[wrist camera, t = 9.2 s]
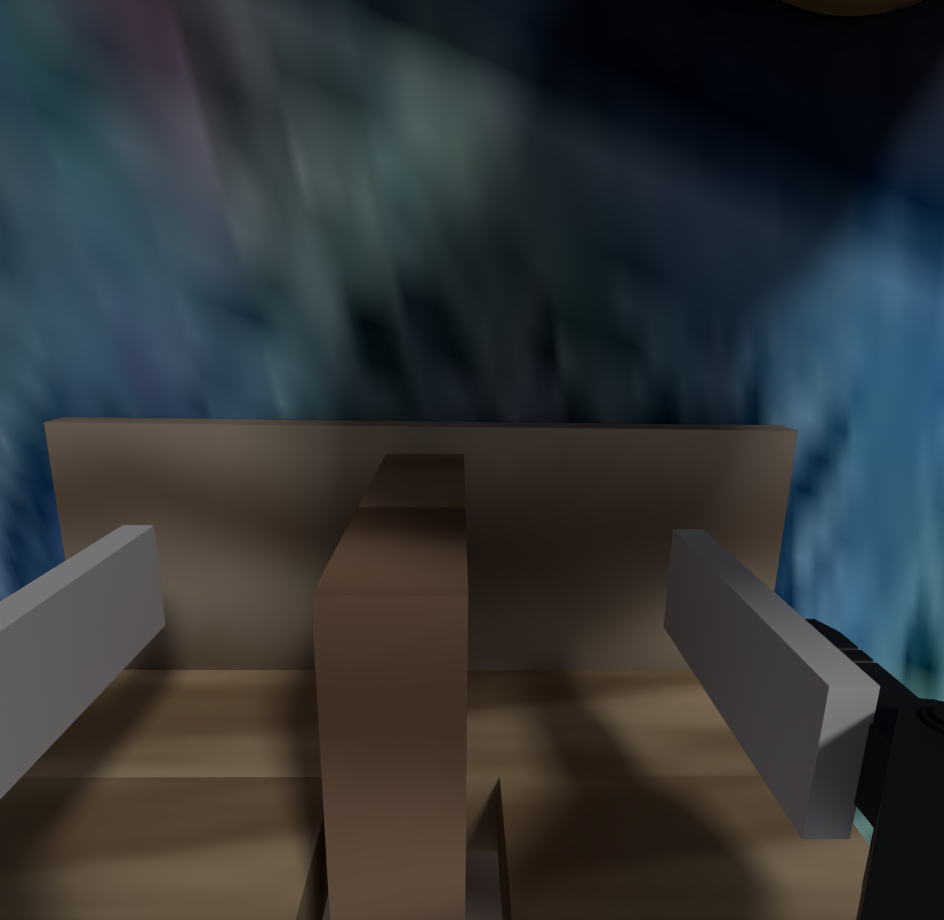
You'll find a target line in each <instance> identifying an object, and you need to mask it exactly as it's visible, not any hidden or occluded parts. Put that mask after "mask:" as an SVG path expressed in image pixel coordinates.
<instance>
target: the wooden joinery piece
mask: <svg viewBox="0 0 944 920" xmlns="http://www.w3.org/2000/svg"><path fill="white" fill-rule="evenodd" d="M44 426H45V432H46V439H47V445H48V451H49V458H50V464H51V471H52V477H53V483H54V490H55V496H56V503H57V509H58V515H59V522H60V528H61V534H62V541H63V547H64V554H65V560H68V559H69V558H71V557H73V556H74V555H76V554H77V553H79V552H81V551H82V550H84V549H85V548H87V547H89V546H90V545H92V544H93V543H95V542H97V541H98V540H100V539H101V538H103V537H105V536H106V535H108V534H109V533H111V532H113V531H114V530H116V529H117V528H119V527H121V526H122V525H154V531H155V540H156V548H157V557H158V565H159V574H160V582H161V591H162V599H163V608H164V616H165V626H164V627H163V628H162V629H161V630H160V631H159V632H158V633H157V634H156V636H155V637H154V638H153V639H152V640H151V641H150V642H149V643H148V644H147V645H146V646H145V647H144V648H143V649H142V650H141V651H140V652H139V653H138V655H137V656H136V657H135V658H134V659H133V660H132V661H131V662H130V663H129V664H128V665H127V666H126V667H125V668H124V669H123V670H122V671H121V672H120V674H119V675H118V676H117V677H116V678H115V679H114V680H113V681H112V682H111V683H110V684H109V685H108V686H107V687H106V688H105V689H104V690H103V691H102V693H101V694H100V695H99V696H98V697H97V698H96V699H95V700H94V701H93V702H92V703H91V704H90V705H89V706H88V707H87V708H86V709H85V710H84V712H83V713H82V714H81V715H80V716H79V717H78V718H77V719H76V720H75V721H74V722H73V723H72V724H71V725H70V726H69V727H68V728H67V729H66V731H65V732H64V733H63V734H62V735H61V736H60V737H59V738H58V739H57V740H56V741H55V742H54V743H53V744H52V745H51V746H50V747H49V748H48V749H47V751H46V752H45V753H44V754H43V755H42V756H41V757H40V758H39V759H38V760H37V761H36V762H35V763H34V764H33V765H32V766H31V767H30V768H29V770H28V771H27V772H26V773H25V774H24V775H23V776H22V777H21V778H20V779H19V780H18V781H17V782H16V783H15V784H14V785H13V786H12V787H11V789H10V790H9V791H8V792H7V793H6V794H5V795H4V796H3V797H2V798H1V799H0V920H330V911H329V894H328V877H327V859H326V842H325V825H324V808H323V791H322V774H321V757H320V739H319V722H318V705H317V688H316V671H315V654H314V637H313V619H312V602H311V595H312V593H313V591H314V589H315V587H316V585H317V583H318V582H319V580H320V578H321V576H322V574H323V572H324V570H325V568H326V566H327V565H328V563H329V561H330V559H331V557H332V555H333V553H334V551H335V549H336V548H337V546H338V544H339V542H340V540H341V538H342V536H343V534H344V532H345V531H346V529H347V527H348V525H349V523H350V521H351V519H352V517H353V515H354V514H355V512H356V510H357V508H358V506H359V504H360V502H361V500H362V498H363V497H364V495H365V493H366V491H367V489H368V487H369V485H370V483H371V481H372V480H373V478H374V476H375V474H376V472H377V470H378V468H379V466H380V464H381V462H382V461H383V459H384V457H385V455H386V453H391V454H464V473H465V506H466V539H467V573H468V668H467V773H466V878H465V920H856V917H857V912H858V906H859V901H860V896H861V891H862V882H863V877H864V872H865V868H866V863H867V858H868V853H869V849H870V845H869V844H868V843H867V841H866V840H865V839H864V837H863V836H862V835H861V834H860V832H859V831H858V830H857V828H856V827H855V826H854V825H852V830H851V835H850V839H801V837H800V835H799V834H798V832H797V831H796V829H795V828H794V826H793V825H792V823H791V822H790V820H789V819H788V817H787V816H786V814H785V812H784V811H783V809H782V808H781V806H780V805H779V803H778V802H777V800H776V799H775V797H774V796H773V794H772V793H771V791H770V789H769V788H768V786H767V785H766V783H765V782H764V780H763V779H762V777H761V776H760V774H759V773H758V771H757V770H756V768H755V766H754V765H753V763H752V762H751V760H750V759H749V757H748V756H747V754H746V753H745V751H744V750H743V748H742V747H741V745H740V743H739V742H738V740H737V739H736V737H735V736H734V734H733V733H732V731H731V730H730V728H729V727H728V725H727V724H726V722H725V720H724V719H723V717H722V716H721V714H720V713H719V711H718V710H717V708H716V707H715V705H714V704H713V702H712V701H711V699H710V697H709V696H708V694H707V693H706V691H705V690H704V688H703V687H702V685H701V684H700V682H699V681H698V679H697V678H696V676H695V674H694V673H693V671H692V670H691V668H690V667H689V665H688V664H687V662H686V661H685V659H684V658H683V656H682V655H681V653H680V652H679V650H678V648H677V647H676V645H675V644H674V642H673V641H672V639H671V638H670V636H669V635H668V633H667V632H666V630H665V629H664V627H663V625H664V615H665V605H666V595H667V585H668V575H669V566H670V556H671V546H672V536H673V529H703V530H704V531H705V532H706V533H708V534H709V535H710V536H711V537H712V538H713V539H714V540H715V541H717V542H718V543H719V544H720V545H721V546H722V547H723V548H724V549H726V550H727V551H728V552H729V553H730V554H731V555H732V556H734V557H735V558H736V559H737V560H738V561H739V562H740V563H741V564H743V565H744V566H745V567H746V568H747V569H748V570H749V571H751V572H752V573H753V574H754V575H755V576H756V577H757V578H758V579H760V580H761V581H762V582H763V583H764V584H765V585H766V586H768V587H769V588H770V589H771V590H772V591H773V592H774V590H775V583H776V576H777V569H778V562H779V555H780V549H781V542H782V535H783V528H784V521H785V515H786V508H787V501H788V494H789V487H790V481H791V474H792V467H793V460H794V453H795V446H796V440H797V433H798V431H797V430H794V429H791V428H788V427H785V426H782V425H712V424H624V423H537V422H449V421H362V420H274V419H186V418H99V417H63V418H59V419H55V420H51V421H47V422H44Z"/></svg>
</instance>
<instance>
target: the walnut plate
mask: <svg viewBox="0 0 944 920" xmlns="http://www.w3.org/2000/svg"><path fill="white" fill-rule="evenodd" d="M311 602H312V619H313V637H314V654H315V671H316V688H317V705H318V722H319V739H320V757H321V774H322V791H323V808H324V825H325V842H326V859H327V877H328V894H329V911H330V920H465V878H466V773H467V668H468V573H467V539H466V506H465V473H464V454H391V453H386V455H385V457H384V459H383V461H382V462H381V464H380V466H379V468H378V470H377V472H376V474H375V476H374V478H373V480H372V481H371V483H370V485H369V487H368V489H367V491H366V493H365V495H364V497H363V498H362V500H361V502H360V504H359V506H358V508H357V510H356V512H355V514H354V515H353V517H352V519H351V521H350V523H349V525H348V527H347V529H346V531H345V532H344V534H343V536H342V538H341V540H340V542H339V544H338V546H337V548H336V549H335V551H334V553H333V555H332V557H331V559H330V561H329V563H328V565H327V566H326V568H325V570H324V572H323V574H322V576H321V578H320V580H319V582H318V583H317V585H316V587H315V589H314V591H313V593H312V595H311Z"/></svg>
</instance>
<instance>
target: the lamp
mask: <svg viewBox="0 0 944 920" xmlns="http://www.w3.org/2000/svg"><path fill="white" fill-rule="evenodd" d="M780 1H782V2H784V3H786V4H789V5H791V6H794V7H796V8H799V9H802V10H806V11H810V12H814V13H818V14H824V15H832V16H865V15H875V14H881V13H886V12H890V11H895V10H899V9H902V8H905V7H908V6H911V5H914V4H917V3H919V2H921V1H924V0H780Z"/></svg>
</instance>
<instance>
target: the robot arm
mask: <svg viewBox="0 0 944 920" xmlns="http://www.w3.org/2000/svg"><path fill="white" fill-rule="evenodd" d="M164 626H165V616H164V608H163V599H162V591H161V582H160V574H159V565H158V557H157V548H156V540H155V531H154V525H122V526H121V527H119V528H117V529H116V530H114V531H113V532H111V533H109V534H108V535H106V536H105V537H103V538H101V539H100V540H98V541H97V542H95V543H93V544H92V545H90V546H89V547H87V548H85V549H84V550H82V551H81V552H79V553H77V554H76V555H74V556H73V557H71V558H69V559H68V560H66V561H65V562H63V563H61V564H60V565H58V566H57V567H55V568H53V569H52V570H50V571H49V572H47V573H45V574H44V575H42V576H41V577H39V578H37V579H36V580H34V581H33V582H31V583H29V584H28V585H26V586H25V587H23V588H21V589H20V590H18V591H17V592H15V593H13V594H12V595H10V596H9V597H7V598H5V599H4V600H2V601H1V602H0V799H1V798H2V797H3V796H4V795H5V794H6V793H7V792H8V791H9V790H10V789H11V787H12V786H13V785H14V784H15V783H16V782H17V781H18V780H19V779H20V778H21V777H22V776H23V775H24V774H25V773H26V772H27V771H28V770H29V768H30V767H31V766H32V765H33V764H34V763H35V762H36V761H37V760H38V759H39V758H40V757H41V756H42V755H43V754H44V753H45V752H46V751H47V749H48V748H49V747H50V746H51V745H52V744H53V743H54V742H55V741H56V740H57V739H58V738H59V737H60V736H61V735H62V734H63V733H64V732H65V731H66V729H67V728H68V727H69V726H70V725H71V724H72V723H73V722H74V721H75V720H76V719H77V718H78V717H79V716H80V715H81V714H82V713H83V712H84V710H85V709H86V708H87V707H88V706H89V705H90V704H91V703H92V702H93V701H94V700H95V699H96V698H97V697H98V696H99V695H100V694H101V693H102V691H103V690H104V689H105V688H106V687H107V686H108V685H109V684H110V683H111V682H112V681H113V680H114V679H115V678H116V677H117V676H118V675H119V674H120V672H121V671H122V670H123V669H124V668H125V667H126V666H127V665H128V664H129V663H130V662H131V661H132V660H133V659H134V658H135V657H136V656H137V655H138V653H139V652H140V651H141V650H142V649H143V648H144V647H145V646H146V645H147V644H148V643H149V642H150V641H151V640H152V639H153V638H154V637H155V636H156V634H157V633H158V632H159V631H160V630H161V629H162V628H163V627H164ZM663 627H664V629H665V630H666V632H667V633H668V635H669V636H670V638H671V639H672V641H673V642H674V644H675V645H676V647H677V648H678V650H679V652H680V653H681V655H682V656H683V658H684V659H685V661H686V662H687V664H688V665H689V667H690V668H691V670H692V671H693V673H694V674H695V676H696V678H697V679H698V681H699V682H700V684H701V685H702V687H703V688H704V690H705V691H706V693H707V694H708V696H709V697H710V699H711V701H712V702H713V704H714V705H715V707H716V708H717V710H718V711H719V713H720V714H721V716H722V717H723V719H724V720H725V722H726V724H727V725H728V727H729V728H730V730H731V731H732V733H733V734H734V736H735V737H736V739H737V740H738V742H739V743H740V745H741V747H742V748H743V750H744V751H745V753H746V754H747V756H748V757H749V759H750V760H751V762H752V763H753V765H754V766H755V768H756V770H757V771H758V773H759V774H760V776H761V777H762V779H763V780H764V782H765V783H766V785H767V786H768V788H769V789H770V791H771V793H772V794H773V796H774V797H775V799H776V800H777V802H778V803H779V805H780V806H781V808H782V809H783V811H784V812H785V814H786V816H787V817H788V819H789V820H790V822H791V823H792V825H793V826H794V828H795V829H796V831H797V832H798V834H799V835H800V837H801V839H850V835H851V830H852V825H853V820H854V815H855V810H856V806H857V807H858V809H859V810H860V811H861V812H862V814H863V815H864V816H865V817H866V819H867V820H868V821H869V822H870V824H871V825H872V826H873V827H874V830H873V834H872V839H871V844H870V849H869V853H868V858H867V863H866V868H865V872H864V877H863V882H862V891H861V896H860V901H859V906H858V912H857V917H856V920H944V702H942V701H938V700H934V699H921V698H918V697H917V696H916V695H915V694H913V693H912V692H911V691H910V690H909V689H907V688H906V687H905V686H904V685H903V684H901V683H900V682H899V681H898V680H897V679H895V678H894V677H893V676H892V675H891V674H889V673H888V672H887V671H886V670H885V669H883V668H882V667H881V666H880V665H879V664H878V663H873V659H872V658H870V657H869V656H868V655H867V654H866V653H864V652H863V651H862V650H858V647H857V646H856V645H855V644H854V643H852V642H851V641H850V640H849V639H848V638H846V637H845V636H844V635H843V634H842V633H840V632H839V631H837V630H835V629H833V628H831V627H829V626H827V625H825V624H823V623H821V622H819V621H817V620H815V619H804V618H803V617H801V616H800V615H799V614H798V613H797V612H796V611H795V610H794V609H792V608H791V607H790V606H789V605H788V604H787V603H786V602H784V601H783V600H782V599H781V598H780V597H779V596H778V595H777V594H775V593H774V592H773V591H772V590H771V589H770V588H769V587H768V586H766V585H765V584H764V583H763V582H762V581H761V580H760V579H758V578H757V577H756V576H755V575H754V574H753V573H752V572H751V571H749V570H748V569H747V568H746V567H745V566H744V565H743V564H741V563H740V562H739V561H738V560H737V559H736V558H735V557H734V556H732V555H731V554H730V553H729V552H728V551H727V550H726V549H724V548H723V547H722V546H721V545H720V544H719V543H718V542H717V541H715V540H714V539H713V538H712V537H711V536H710V535H709V534H708V533H706V532H705V531H704V530H703V529H673V536H672V546H671V556H670V566H669V575H668V585H667V595H666V605H665V615H664V625H663Z"/></svg>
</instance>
